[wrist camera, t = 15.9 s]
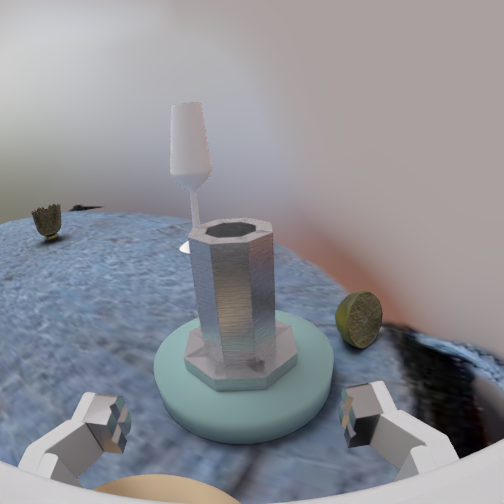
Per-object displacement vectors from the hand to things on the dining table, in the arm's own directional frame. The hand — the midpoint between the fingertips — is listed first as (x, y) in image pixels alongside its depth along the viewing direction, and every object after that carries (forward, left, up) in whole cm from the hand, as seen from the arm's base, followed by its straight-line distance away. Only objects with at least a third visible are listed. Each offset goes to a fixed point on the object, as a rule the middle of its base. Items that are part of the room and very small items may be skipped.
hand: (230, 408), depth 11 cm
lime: (+19, +3, -10) cm, 21 cm away
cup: (+9, +71, -10) cm, 73 cm away
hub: (+9, +8, -9) cm, 15 cm away
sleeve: (+9, +8, -7) cm, 14 cm away
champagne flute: (+27, +36, -10) cm, 46 cm away
